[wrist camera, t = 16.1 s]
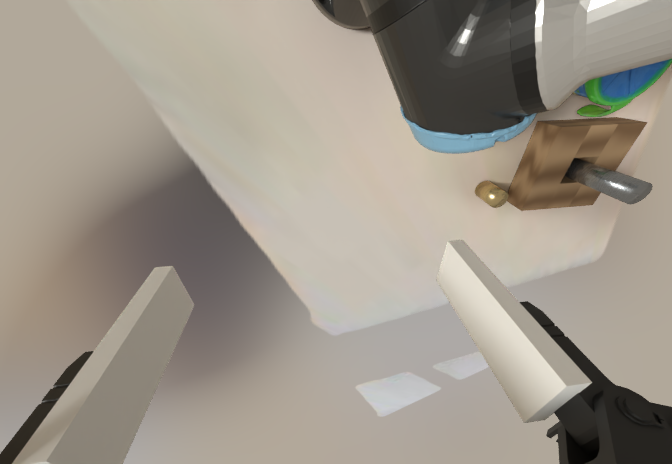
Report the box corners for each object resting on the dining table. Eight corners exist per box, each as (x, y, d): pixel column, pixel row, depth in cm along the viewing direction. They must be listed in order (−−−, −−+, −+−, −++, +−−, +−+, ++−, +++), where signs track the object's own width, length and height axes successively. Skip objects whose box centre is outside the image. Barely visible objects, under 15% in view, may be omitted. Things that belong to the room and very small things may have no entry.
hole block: (537, 121, 44) (561, 127, 40) (616, 117, 45) (647, 122, 41) (504, 199, 53) (521, 210, 49) (571, 194, 55) (592, 204, 51)
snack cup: (590, 99, 43) (658, 107, 35) (529, 122, 44) (582, 135, 36) (618, -18, 34) (720, -45, 26) (542, 14, 35) (615, -1, 27)
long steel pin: (552, 153, 48) (636, 183, 36) (568, 152, 49) (658, 182, 36) (543, 170, 50) (620, 204, 38) (559, 169, 51) (641, 203, 38)
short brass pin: (478, 181, 50) (493, 191, 46) (494, 180, 50) (511, 190, 46) (472, 197, 52) (487, 208, 48) (488, 195, 52) (504, 207, 48)
